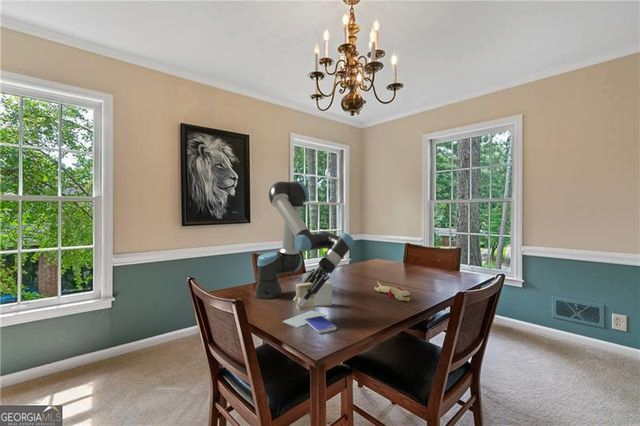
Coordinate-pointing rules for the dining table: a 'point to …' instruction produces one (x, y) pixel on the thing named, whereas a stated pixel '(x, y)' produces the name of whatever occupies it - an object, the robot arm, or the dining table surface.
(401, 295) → the cat figure
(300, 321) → the mat
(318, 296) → the photo printer
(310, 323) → the hard drive
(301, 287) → the birch block
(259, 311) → the dining table surface
